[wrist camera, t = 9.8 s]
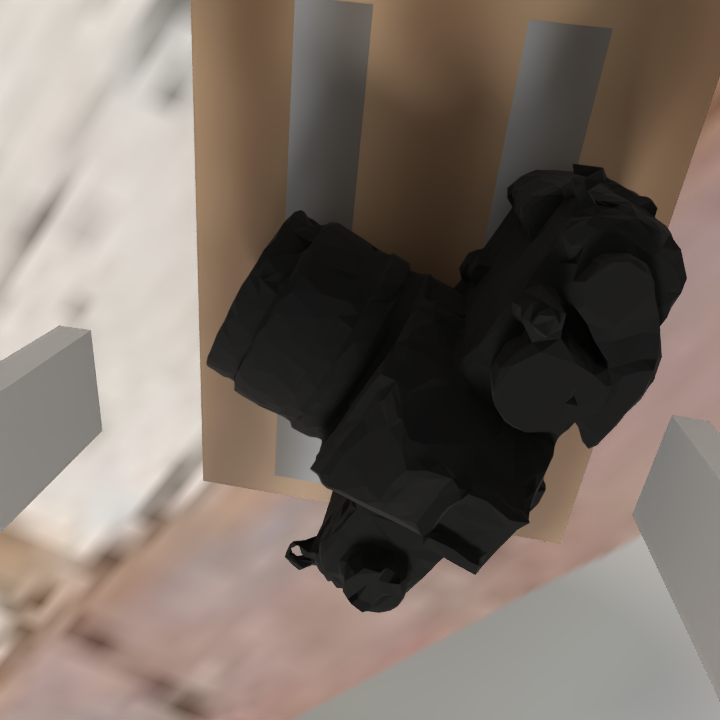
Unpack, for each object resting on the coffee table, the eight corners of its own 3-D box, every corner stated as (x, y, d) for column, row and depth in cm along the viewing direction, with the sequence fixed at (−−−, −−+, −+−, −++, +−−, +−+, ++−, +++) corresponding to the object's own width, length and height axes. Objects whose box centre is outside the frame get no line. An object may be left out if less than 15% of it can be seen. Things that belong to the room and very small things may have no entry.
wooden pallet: (226, 443, 28) (203, 480, 26) (225, -34, 20) (189, -54, 17) (549, 498, 27) (560, 543, 24) (702, 12, 18) (746, -2, 16)
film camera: (401, 37, 17) (359, -14, 9) (654, 210, 18) (819, 303, 10) (207, 396, 24) (83, 552, 16) (402, 508, 25) (379, 708, 17)
